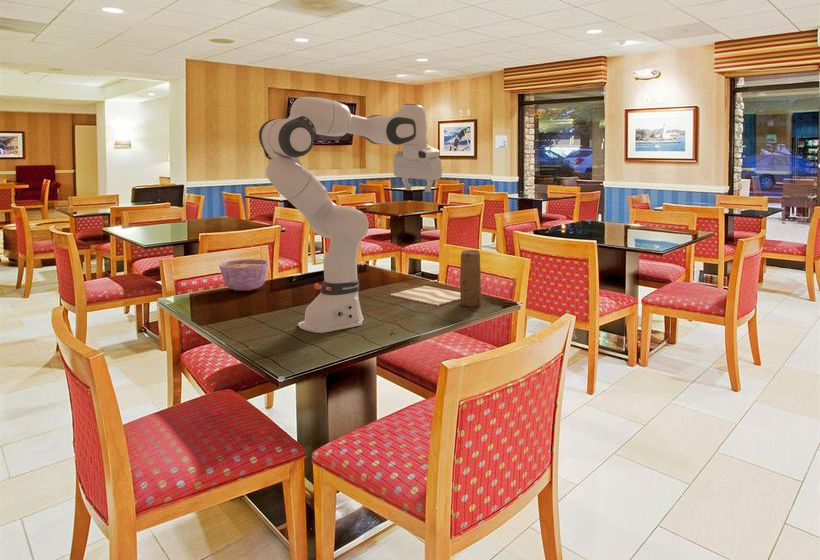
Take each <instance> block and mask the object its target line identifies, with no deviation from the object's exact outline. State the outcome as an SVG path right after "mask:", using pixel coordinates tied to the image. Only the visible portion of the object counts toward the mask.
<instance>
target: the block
mask: <svg viewBox="0 0 820 560" xmlns="http://www.w3.org/2000/svg"><path fill="white" fill-rule="evenodd" d="M459 274H460V275H459V277H460V280H459V281H460V283H459V292H460V297H461V300H460V304H461V306H462V307H466V308H467V307H468V308H471V307H473V308H474V307H478V306H480V305H481V303H482V298H481V294H482V293H481V292H482V288H481V287H482V285H481V284H482V283H481V281H482V280H481V279H482V278H481V277H482V275H481V253H480V251H479V250H475V249H469V250H462V251H461V255H460V273H459Z"/></svg>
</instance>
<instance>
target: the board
mask: <svg viewBox="0 0 820 560" xmlns="http://www.w3.org/2000/svg"><path fill="white" fill-rule="evenodd" d="M390 297H396V298H399V299H400V298H401V299H404V300H409V301H412V302H413V301H414V302H417V301H418V303H422V302H423V303H422V304H426V303H427V304H428V305H432V306H435V305H436V306H437V307H440V305H441V306H445V305H448V304H451V303H455V302H458V300H459V301H461V297H460V291H459V292H458V291H454V290H450V289H444V288H439V287H433V286H429V285H428V286H427V285H422V286H418V287H415V288H409V289H407V290H402V291H397V292H393V293H390ZM447 303H448V304H447ZM427 304H426V305H427ZM436 306H435V307H436Z"/></svg>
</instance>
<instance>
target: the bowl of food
mask: <svg viewBox="0 0 820 560" xmlns="http://www.w3.org/2000/svg"><path fill="white" fill-rule="evenodd" d="M268 268H269V261H268V260H265V259H256V258H255V259H253V258H252V259H235V260H230V261H225V262H222V263H220V264H219V269H220V272H221V275H222V279H223V280H224V283H225V285H226V286H227V288H229V289H231V290H233V289H234V290H233V291H236V290H251V289H256V288H257V289H259V288H260V287H262V286H263V285H264V284H265V282H266V279H267V273H268ZM257 289H256V290H257Z"/></svg>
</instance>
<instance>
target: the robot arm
mask: <svg viewBox="0 0 820 560" xmlns="http://www.w3.org/2000/svg"><path fill="white" fill-rule="evenodd" d="M290 108H291V109H290V114H289V116H288V117H287V118H276V119H275V118H273V119H269V120H267V121H266V122H264V123H262V125H261V126H260V128H259V131H258V140H259V144H260V145H261V147H262V149H263V153H264V155H265V157H266V158H267V159H268V160H270V161H269V162H268V164H267V166H266V170H265V175H266V177H267V180H268V181H270V183H271V184H272V186H273V187H274V188H275V189H276V190H277V191H278V193H279V194H280V195H281V196H283V198H285V200H287V201H288V202H289V203H291V205H292V206H293V207H295V209H297V210H298V211H299V212H300V213H301V214H302V215H303V216H304V217H305V219H306V221H308V224H309V227H310V229H311V230H312V231H313V233H315V234H316V235H319V236H320V237H323V238H327V239H330V243H329V248H328V251H327V253H326V254H325V255H324V256H323V262H322V263H323V278H324V279H323V282H322V284H321V283H318V282H316V283H314V290H317V291H318V290H320V293H319V294H318V295H317V296H316V297H315V298H314V299H313V300H312V301H311V303H309V304H308V306H307V307H306V308H305V312H304V320H302V321H300V322H298V325H297V326H299V327H298V328H299V329H301V330H304V331H307V332H311V333H316V334H317V333H319V334H324V333H325V334H326V333H330V332H333V331H340V330H346V329H350V328H355V327H360V326H362V325H363V321H364V315H363V313H362V308H361V304H360V297H359V291H360V283H359V282H360V281H359V279H358V252H359V248H360V245H361V241H362V240H363V238H365V236H366V235H367V233H368V231H369V227H370V226H369V225H370V224H369V223H370V222H369V219H368V216H367V215H366V214H365V213H364V212H363V211H361V210H359V209H357V208H355V207H351V206H340V205H338V204H336V203H335V202H333V200H332V199H331V198H330V197H329V195H328V189H327V188H326V187H325V185H324V184H322V182H320V181H319V180H318V178H316V177H315V176H314V175H313V174H312V173H311V172H310V171H309V170H308V169H306V167H304V166H303V164H302V163H301V161H300V159H299V158H300V157H303V156H305V155H307V154H308V153H309V152H310V151H311V150H312V148H313V145H314V142H315V137H316V135H321V136H326V137H344V136H345V135H346V134H348V135H355V136H360V137H363V138H364V139H366V140H367V141H368V142H369V143H371V144H372V145H389V146H399V145H401V146H402V150H397V151H396V152H395V153H394V155H393V159H394V160H393V175H394V176H395V177H396V178H401V181H402V183H403V184H404V189H405V191H411V190H412V184H410V183H409V179H416V180H417V179H418V180H426V183H427V184H426V186H425V187H424V192H425V193H431V192H432V186H433V183H434V181H437V180H440V179H441V178H442V176H443V175H442V174H443V171H442V168H443V167H442V160H441V159H440V155H441V151H440V150H439V149H437V148H435V147H433V146H431V145H429V142H428V141H429V140H428V138H427V137H428V136H427V131H428V127H427V126H428V121H427V114H426V110H425V108H424V107H423V106H422V105H420V104H417V103H404V104H402V105H401V107H400V108H399V109H398V110H397V111H396V112H394V113H393V114H390V115H383V114H382V115H381V114H373V115H369V116H366V117H365V116H359V115H356V114H352V113H351V110H350V108H349V106H348V105H346V104H344V103H343V102H339V101H338V100H337V101H336V100H333V99H329V98H323V97H322V98H321V97H316V96H315V97H313V96H300V97H298V98H296V99H295V101H293V103H292V105H291V107H290Z"/></svg>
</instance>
